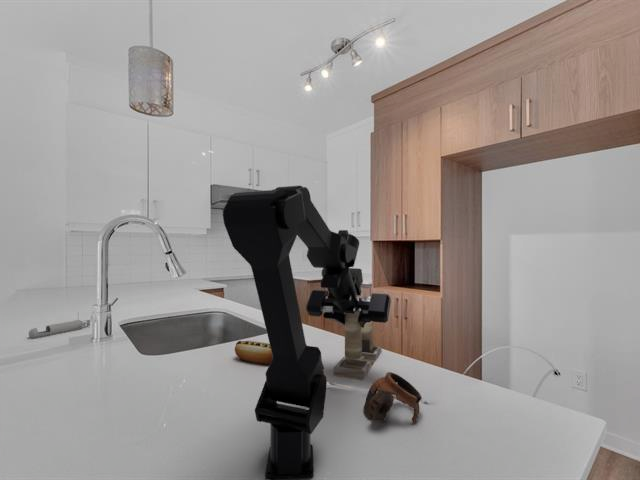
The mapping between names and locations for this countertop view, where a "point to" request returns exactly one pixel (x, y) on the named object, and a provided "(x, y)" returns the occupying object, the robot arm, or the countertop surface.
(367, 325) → the long tan cylinder
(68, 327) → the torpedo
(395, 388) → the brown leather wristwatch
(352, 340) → the beige round canister
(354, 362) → the double slot holder
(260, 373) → the countertop surface
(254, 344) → the hot dog
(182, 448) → the countertop surface
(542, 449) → the countertop surface
